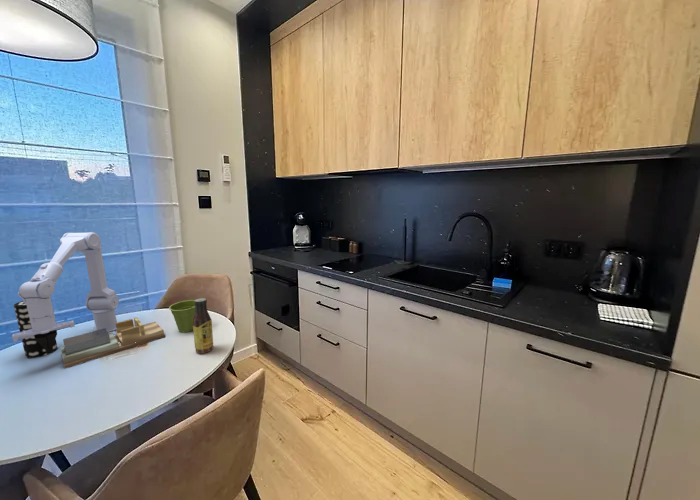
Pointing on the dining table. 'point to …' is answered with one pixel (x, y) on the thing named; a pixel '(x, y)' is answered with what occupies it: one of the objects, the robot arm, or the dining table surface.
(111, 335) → the tan piece
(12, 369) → the dining table surface
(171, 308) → the plant pot
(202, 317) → the sauce bottle
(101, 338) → the metal block
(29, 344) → the white-spotted black cylinder
